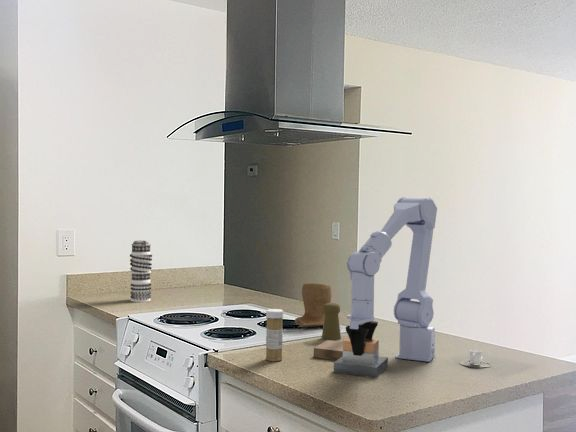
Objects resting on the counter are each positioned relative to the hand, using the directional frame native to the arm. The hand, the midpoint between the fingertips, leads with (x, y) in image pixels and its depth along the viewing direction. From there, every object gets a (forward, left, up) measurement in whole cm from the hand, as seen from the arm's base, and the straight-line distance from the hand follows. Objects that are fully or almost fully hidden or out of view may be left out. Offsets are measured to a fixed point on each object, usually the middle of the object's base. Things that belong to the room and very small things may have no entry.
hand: (361, 352), depth 159 cm
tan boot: (+31, -47, -5) cm, 56 cm away
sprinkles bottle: (+24, +1, -5) cm, 24 cm away
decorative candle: (+115, -63, -5) cm, 131 cm away
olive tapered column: (+19, -31, -5) cm, 37 cm away
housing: (0, 0, -2) cm, 2 cm away
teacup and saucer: (-28, -20, -5) cm, 35 cm away
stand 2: (0, 0, -4) cm, 4 cm away
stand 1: (+10, -12, -4) cm, 16 cm away
